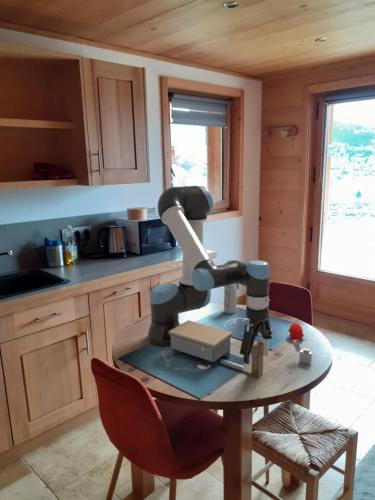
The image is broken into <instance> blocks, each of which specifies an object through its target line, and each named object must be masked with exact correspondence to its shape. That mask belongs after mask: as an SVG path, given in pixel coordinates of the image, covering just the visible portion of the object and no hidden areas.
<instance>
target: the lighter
mask: <svg viewBox="0 0 375 500" xmlns="http://www.w3.org/2000/svg"><path fill="white" fill-rule="evenodd" d="M292 345H293V347H294V349H295V352H299V361H298V362H299V363H302V364H305V365H311V364H312V358H313V352H312V351H310V350H309V349H308V348H305V347H304V348H303V349H302V348H301V346H300V343H299V340H298V341H297V340H292Z"/></svg>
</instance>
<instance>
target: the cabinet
mask: <svg viewBox="0 0 375 500" xmlns="http://www.w3.org/2000/svg"><path fill="white" fill-rule="evenodd" d="M169 334H171V345H170V355H172V356H174V355H176V354H177V353H179V352H181V353H185V354H189V355H190V356H194V357H197V358H200V359H204V360H205V361H208V362H213V363H214V362H216V361H218V359H219V360H220V359H221V357H222V356H224V357H226V358H231V336H233V332H232V331H228V330H226V329H220V328H217V327H214V326H211V325H207V324H204V323H203V324H202V323H199V322H195V321H191V320H189V319H188V320H186V321H185V322H183V323H181V324H180V325H179V326H177V327H175V328H174V329H172V330H170V331H169Z"/></svg>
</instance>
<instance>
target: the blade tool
mask: <svg viewBox="0 0 375 500" xmlns="http://www.w3.org/2000/svg"><path fill="white" fill-rule="evenodd" d="M263 351H264V343H261V341H257V340H255V341H254V344H253V347H252V350H251V353H250V354H252V365H251V373H249V372H246V371H243V364H242V365H241V364H239V363H237V362H236V363H235V362H233V361H229V360H226V359H224V358H223V359H222V358H219V364H220V363H221V365H223V364H224V365H223V366H226V365H227V366H226V367H229V368H232V369H235V370H238V371H242V372H244V373H247V375H248V376H250V377H253V378H256V379H260V378H261V376H263V373H264V356H263Z"/></svg>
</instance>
